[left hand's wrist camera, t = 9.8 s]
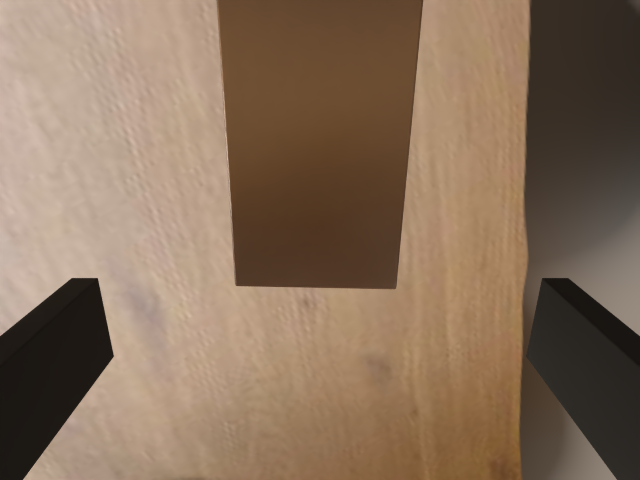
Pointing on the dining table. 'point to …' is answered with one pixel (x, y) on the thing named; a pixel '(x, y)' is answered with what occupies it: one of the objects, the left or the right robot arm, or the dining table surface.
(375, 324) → the dining table surface
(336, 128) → the bar
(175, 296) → the dining table surface
